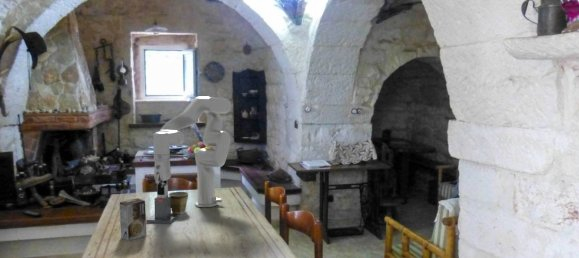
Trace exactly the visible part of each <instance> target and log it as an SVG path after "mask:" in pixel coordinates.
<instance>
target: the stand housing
mask: <svg viewBox="0 0 579 258" xmlns="http://www.w3.org/2000/svg"><path fill="white" fill-rule="evenodd" d="M179 217H180V214H174V213H172V210H171V196H169V195H168V197H167V198H157V196H156V197H154V213H153V214H152V215H151V216H149V217H148V218H146V224H148V223H149V224H167V225H171V224H172V223H173V222H174V221H175V220H177V219H178V218H179Z"/></svg>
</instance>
